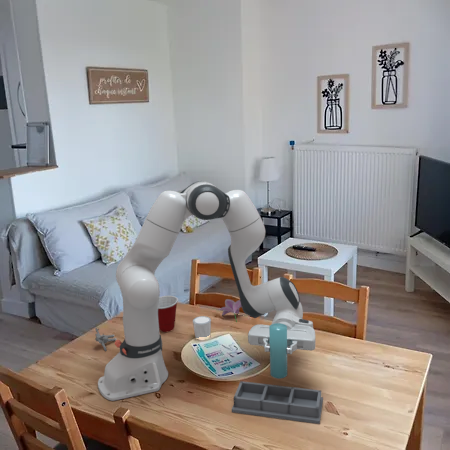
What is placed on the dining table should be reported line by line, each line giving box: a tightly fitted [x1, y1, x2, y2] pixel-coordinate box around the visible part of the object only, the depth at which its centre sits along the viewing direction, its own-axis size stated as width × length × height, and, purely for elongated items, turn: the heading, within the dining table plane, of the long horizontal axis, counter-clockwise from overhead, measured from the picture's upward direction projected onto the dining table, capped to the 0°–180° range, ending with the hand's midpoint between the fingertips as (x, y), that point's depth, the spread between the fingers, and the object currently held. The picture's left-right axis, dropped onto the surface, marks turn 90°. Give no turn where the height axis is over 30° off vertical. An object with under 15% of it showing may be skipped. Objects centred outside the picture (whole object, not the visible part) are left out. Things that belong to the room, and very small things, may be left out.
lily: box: [217, 298, 242, 323], centre depth 200 cm, size 12×12×10 cm
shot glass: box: [192, 315, 212, 339], centre depth 186 cm, size 7×7×7 cm
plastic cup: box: [158, 295, 179, 333], centre depth 193 cm, size 11×11×12 cm
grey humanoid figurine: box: [94, 327, 117, 352], centre depth 184 cm, size 10×6×9 cm
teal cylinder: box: [269, 323, 288, 380], centre depth 143 cm, size 5×5×15 cm
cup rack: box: [231, 380, 324, 425], centre depth 144 cm, size 25×11×4 cm, turn 74°
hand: (277, 350), depth 142 cm, fingers closed on teal cylinder, 5 cm apart
